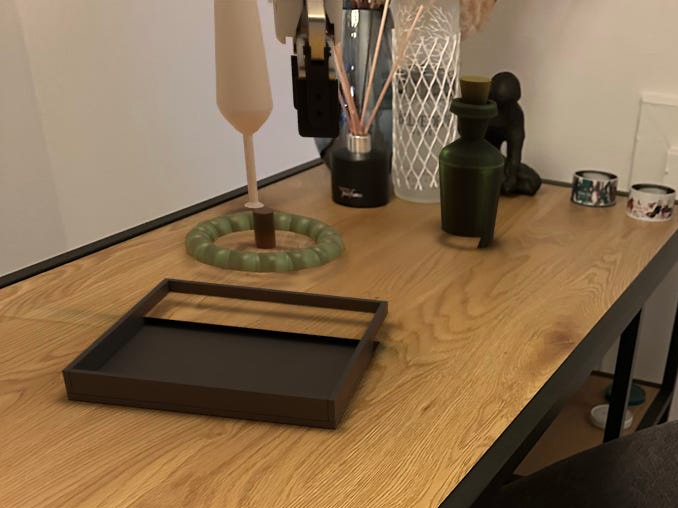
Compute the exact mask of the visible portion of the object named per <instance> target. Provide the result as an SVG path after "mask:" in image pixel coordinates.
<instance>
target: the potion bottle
mask: <svg viewBox="0 0 678 508" xmlns="http://www.w3.org/2000/svg"><path fill="white" fill-rule="evenodd" d="M458 80H459V87H460V95H461V96H460V97H455V98H452V100H451V103H450V106H449V108H448V109H449V110H448V111H449V113H451V114H453V115H455V116H456V117H457V122H458V127H459V128H458V129H459V134H460V137H459V138H456V139H454V140H453V141H452V142H450V143H448V144H446V145H445V146H443V147H442V149H441V150H440V152H439V154H438V159H437V160H438V181H439V182H438V183H439V198H440V199H439V200H440V222H441V223H440V224H441V231H443V232H445V233H447V234H448V235H452V236H457V237H462V238H479V241H478V244H477V246H476V248H477V249H481V248H485V247H488V246H489V245H490V244H492V243H493V241H494V235H495V229H496V228H495V227H496V222H497V214H498V210H499V209H498V208H499V202H500V195H501V188H502V181H503V175H504V168H505V159H504V156H503V154H502V151H501V150H500V149H498V148H497V147H496V146H495V145H493V143H491V142H489V141H488V140H487V139H486V138H485V137H486V134H487V130H488V127H489V122H490V119H492V118H494V117H496V116H499V111H498V105H497V102H496V101H495V100H493V99H489V95H490V90H491V85H492V82H493V80H492V78H490V77H486V76H480V75H461V76H459V77H458Z"/></svg>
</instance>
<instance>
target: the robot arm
mask: <svg viewBox="0 0 678 508" xmlns="http://www.w3.org/2000/svg"><path fill="white" fill-rule="evenodd" d="M343 2H344V0H272V7H273V9H272V10H273V23H274V33H275V37H276V39H277V40H278V42H280V44H282V45H286V44H287V38H292V54H291V55H290V69H291V85H292V88H291V89H292V104H293V108H294V109H295V110H296V114H297V115H296V116H297V117H296V118H297V132H298V135H299V136H300V137H302V138H311V139H313V138H314V139H317V138H318V139H337V138H338V137H339V136H340V134H341V133H340V131H341V129H340V128H341V127H340V96H339V91H340V90H339V79H338V78H336V77H337V75H336V59H335V57H336V56H335V47H336V46H337V45H338V44H340V42H342V34H343V33H342V31H343V9H344V8H343V5H344V3H343Z"/></svg>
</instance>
